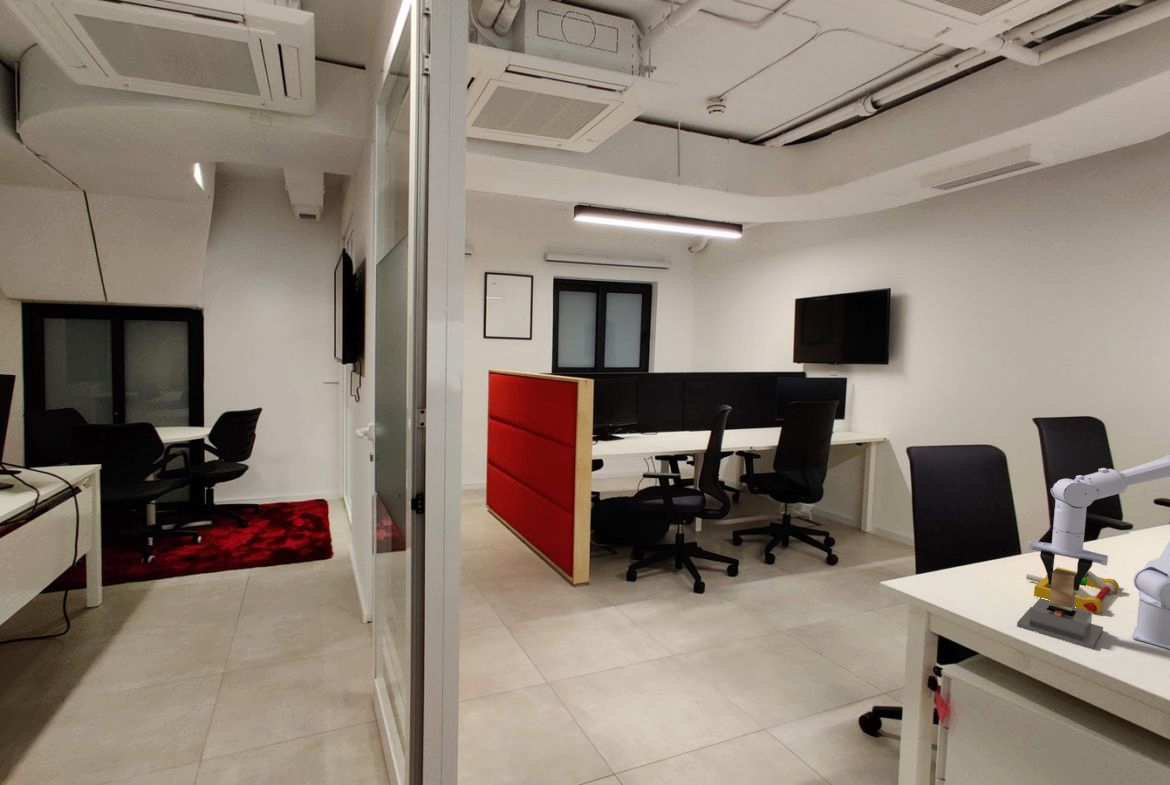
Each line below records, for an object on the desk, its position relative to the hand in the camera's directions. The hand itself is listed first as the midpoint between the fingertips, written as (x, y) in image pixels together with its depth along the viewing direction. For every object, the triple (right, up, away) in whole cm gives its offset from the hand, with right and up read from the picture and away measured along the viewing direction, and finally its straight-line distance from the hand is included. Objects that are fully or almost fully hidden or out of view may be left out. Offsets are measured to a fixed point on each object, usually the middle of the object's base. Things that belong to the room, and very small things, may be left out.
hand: (1063, 586), depth 139 cm
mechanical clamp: (+22, -10, +25) cm, 35 cm away
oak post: (0, -5, 0) cm, 5 cm away
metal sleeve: (0, -10, +1) cm, 10 cm away
